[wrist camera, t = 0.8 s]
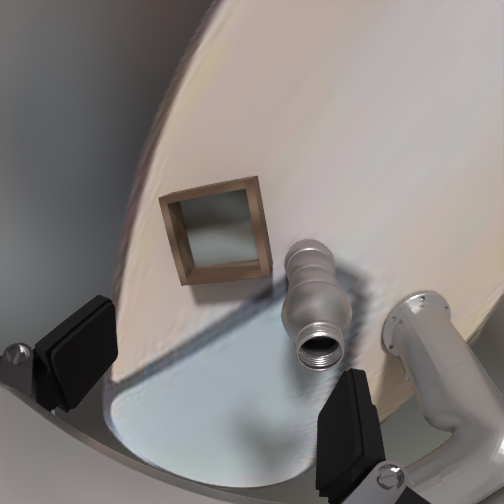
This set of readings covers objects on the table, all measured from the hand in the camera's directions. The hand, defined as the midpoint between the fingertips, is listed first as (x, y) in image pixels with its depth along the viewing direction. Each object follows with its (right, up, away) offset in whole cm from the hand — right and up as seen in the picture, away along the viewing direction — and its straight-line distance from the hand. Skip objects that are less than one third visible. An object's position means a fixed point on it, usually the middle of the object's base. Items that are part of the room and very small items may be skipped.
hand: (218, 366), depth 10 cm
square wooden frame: (-3, +8, +28) cm, 29 cm away
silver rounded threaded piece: (+9, +3, +28) cm, 30 cm away
